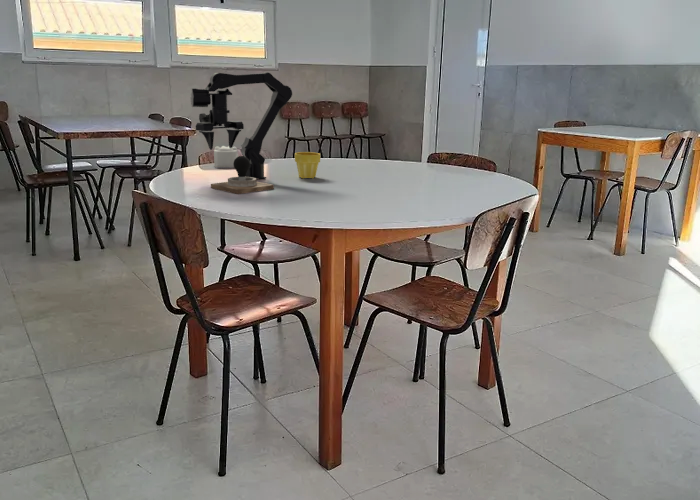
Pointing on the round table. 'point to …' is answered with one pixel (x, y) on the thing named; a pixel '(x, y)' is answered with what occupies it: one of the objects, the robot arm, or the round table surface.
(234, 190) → the socket base
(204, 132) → the robot arm
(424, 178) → the round table surface
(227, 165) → the lumpy-topped squat cylinder
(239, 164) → the light bulb
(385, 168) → the round table surface
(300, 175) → the plant pot
